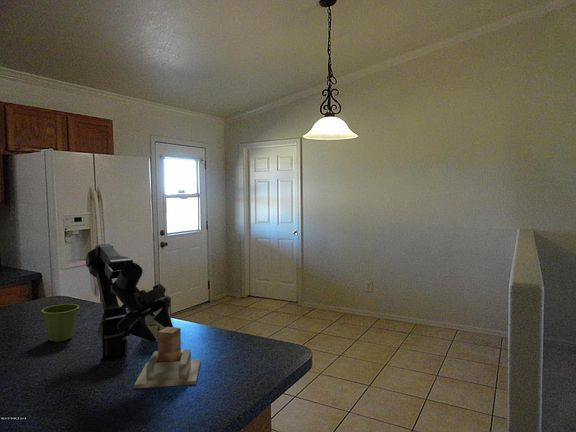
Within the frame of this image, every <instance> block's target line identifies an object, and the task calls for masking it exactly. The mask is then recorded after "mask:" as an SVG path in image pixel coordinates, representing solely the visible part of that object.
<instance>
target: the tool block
mask: <svg viewBox="0 0 576 432" xmlns="http://www.w3.org/2000/svg"><path fill="white" fill-rule="evenodd" d="M191 357H192V354H191V349H190V348H189V349H181V359H180V361H179V362H162V363H158V350H154V352H153V353H152V355H151V357H150V359H149V360H148V362H146V363H145V364H144V367H143V369H142V370H141V372H140V374H139V375H138V377H137V379H136V381H135V383H134V385H133V386H134V387H133V388H134V389H143V388H144V389H146V388H147V389H148V388H161V387H174V386H177V387H178V386H188V385H189V386H192V385H196V384H197V382H198V376H199V371H200V367H201V361H202V360H201V359H199V358H198V359H192V358H191Z"/></svg>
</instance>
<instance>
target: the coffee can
mask: <svg viewBox="0 0 576 432" xmlns="http://www.w3.org/2000/svg"><path fill="white" fill-rule="evenodd" d="M164 297H167V298H168V299H169V300H170V301H171V300H172V297H171V296H169V295H165V296H164ZM161 298H163V297H160V299H161ZM157 300H158V299H157ZM157 300H155V301H157ZM152 305H153V304H152ZM152 305H151V306H152ZM171 305H172V301H171V303H170V307H169V309H168V314H169V317H170V320H171V321H172V307H171ZM153 318H154V317H153V316H151V315H148V316H146V317H145V324H146V325H147V327H148V328H149V330H150V331H151V332H152V334H153V335H154V337H155V338H156V341H155V342H154V343H156V342H158V331H160V330H162V329H164V328H165V327H164V326H162V325H161V324H159V323H158V322H156V321H155V320H154V319H153ZM141 339H142V340H143V341H145V342H147V343H149V342H150V341H148V340H145V339H143V338H141ZM150 343H151V342H150Z"/></svg>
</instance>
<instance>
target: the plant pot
mask: <svg viewBox="0 0 576 432" xmlns="http://www.w3.org/2000/svg"><path fill="white" fill-rule="evenodd" d="M80 307H81V306H80V305H79V304H77V303H76V304H75V303H64V304H56V305H50V306H46V307H44V308H43V309H42V310H41V313H43V317H44V320H45V324H46V329H47V334H48V339H49V341H50V342H55V343H59V342H64V341H65V342H66V341H68V340H70V339H72V338H73V335H74V329H75V325H76V318H77V315H78V310H79V309H80Z"/></svg>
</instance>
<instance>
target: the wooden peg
mask: <svg viewBox="0 0 576 432" xmlns="http://www.w3.org/2000/svg"><path fill="white" fill-rule="evenodd" d="M181 330H182V329H181V327H175V326H173V327H165V328H164V329H162V330H160V331H158V341H157V351H158V363H162V362H179V361H180V359H181V350H182V344H181V343H182V342H181V341H182V338H181Z"/></svg>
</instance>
